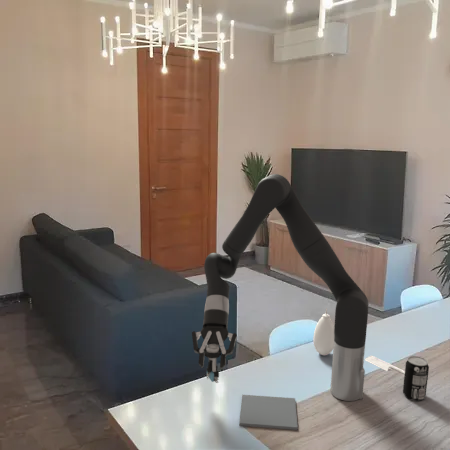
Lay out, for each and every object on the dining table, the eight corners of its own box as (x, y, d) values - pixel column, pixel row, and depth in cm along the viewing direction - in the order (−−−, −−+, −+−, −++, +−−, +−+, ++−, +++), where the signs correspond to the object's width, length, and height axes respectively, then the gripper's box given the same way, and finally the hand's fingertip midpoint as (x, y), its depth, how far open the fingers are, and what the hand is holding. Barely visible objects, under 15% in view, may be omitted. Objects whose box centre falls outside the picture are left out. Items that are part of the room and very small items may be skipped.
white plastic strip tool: (400, 379, 154) (400, 376, 154) (363, 361, 166) (363, 358, 166) (409, 375, 157) (409, 372, 157) (371, 357, 169) (372, 354, 169)
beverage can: (408, 387, 149) (411, 353, 146) (428, 396, 144) (433, 360, 142) (398, 395, 144) (402, 360, 142) (419, 404, 140) (424, 368, 137)
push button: (225, 382, 136) (226, 351, 134) (208, 386, 134) (209, 354, 132) (216, 371, 142) (217, 341, 140) (200, 375, 140) (201, 344, 138)
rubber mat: (294, 400, 141) (295, 398, 141) (297, 429, 127) (297, 427, 127) (242, 396, 142) (242, 394, 142) (239, 425, 129) (239, 423, 128)
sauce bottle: (308, 354, 170) (311, 308, 166) (319, 347, 175) (322, 302, 172) (327, 361, 165) (331, 314, 161) (338, 354, 170) (341, 307, 167)
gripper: (191, 307, 142) (185, 362, 133) (238, 308, 140) (235, 365, 131) (194, 316, 148) (189, 370, 139) (240, 318, 147) (237, 372, 137)
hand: (211, 367), depth 135 cm, fingers closed on push button, 5 cm apart
